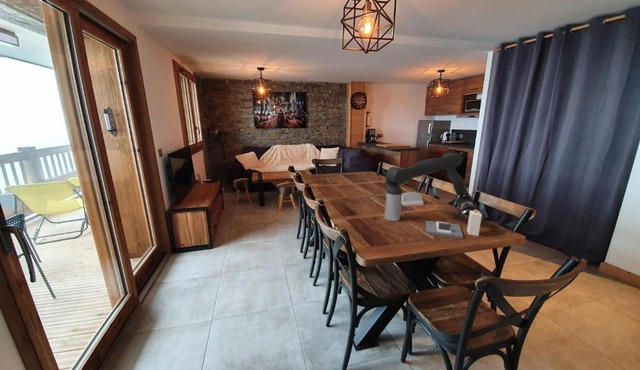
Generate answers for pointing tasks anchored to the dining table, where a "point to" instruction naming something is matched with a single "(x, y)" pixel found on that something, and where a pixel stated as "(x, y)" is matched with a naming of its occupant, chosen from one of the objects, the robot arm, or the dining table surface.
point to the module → (474, 222)
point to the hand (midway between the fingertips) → (472, 218)
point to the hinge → (411, 199)
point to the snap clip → (444, 226)
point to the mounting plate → (433, 229)
